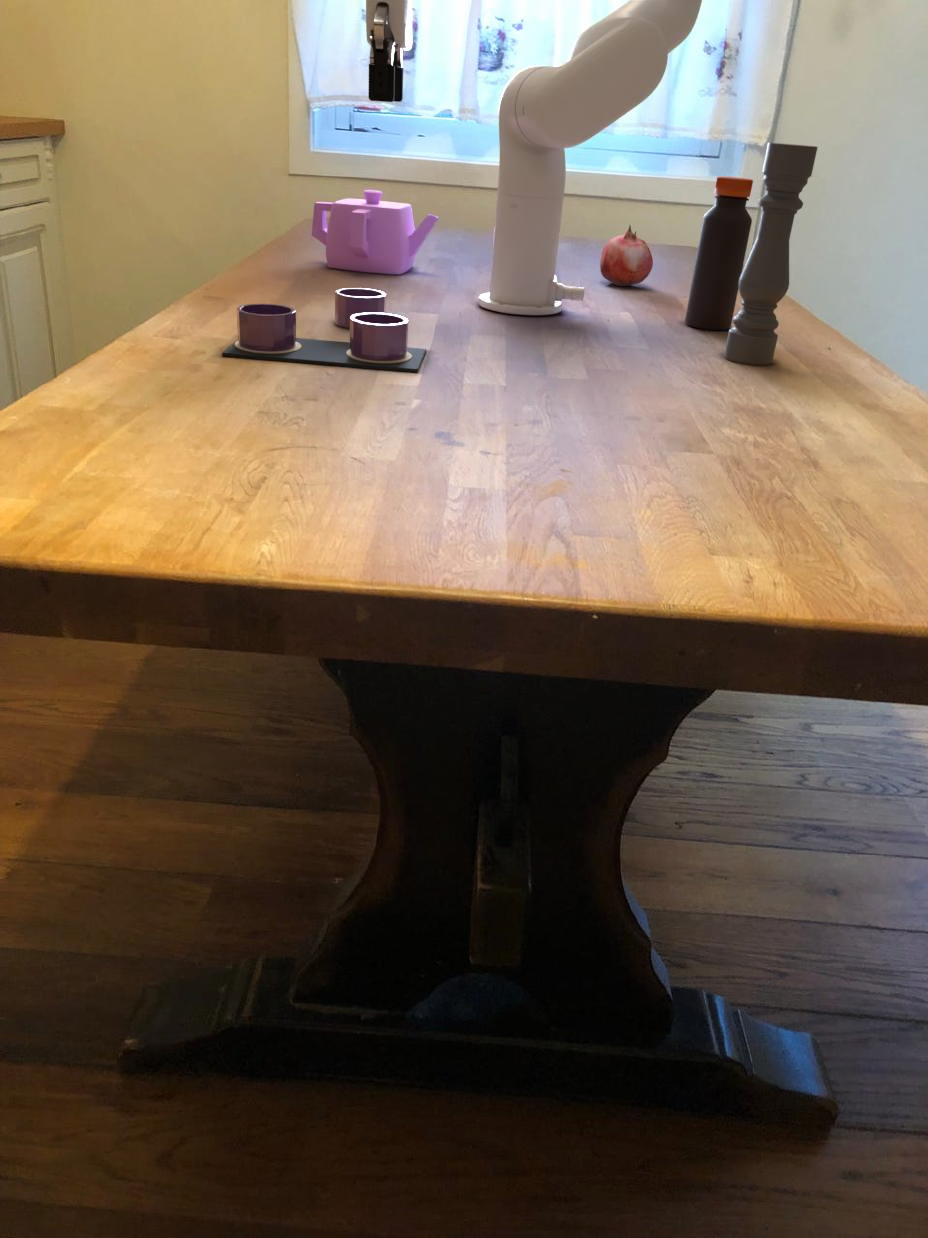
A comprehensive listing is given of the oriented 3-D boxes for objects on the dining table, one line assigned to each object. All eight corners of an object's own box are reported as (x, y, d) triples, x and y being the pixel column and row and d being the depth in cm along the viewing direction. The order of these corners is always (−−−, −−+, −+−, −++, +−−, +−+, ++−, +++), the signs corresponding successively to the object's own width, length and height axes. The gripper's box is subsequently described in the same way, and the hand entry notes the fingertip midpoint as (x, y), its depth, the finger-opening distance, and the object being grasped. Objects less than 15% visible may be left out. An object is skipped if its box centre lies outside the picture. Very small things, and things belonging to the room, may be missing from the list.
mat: (426, 352, 115) (426, 347, 114) (417, 372, 106) (417, 368, 106) (245, 336, 115) (245, 332, 115) (222, 356, 106) (221, 351, 106)
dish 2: (387, 320, 129) (388, 290, 127) (381, 331, 123) (381, 299, 121) (340, 317, 129) (340, 286, 127) (331, 327, 123) (331, 295, 121)
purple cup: (301, 340, 113) (300, 306, 111) (288, 353, 107) (288, 317, 105) (247, 336, 113) (245, 301, 111) (231, 348, 108) (230, 312, 106)
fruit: (610, 277, 175) (618, 219, 170) (657, 286, 170) (666, 226, 165) (586, 282, 168) (593, 221, 163) (634, 291, 164) (643, 229, 159)
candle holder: (774, 367, 120) (823, 147, 108) (724, 361, 121) (767, 143, 109) (770, 356, 126) (816, 145, 114) (722, 351, 127) (763, 141, 115)
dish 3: (409, 349, 113) (410, 315, 111) (402, 363, 107) (404, 327, 105) (355, 345, 113) (355, 310, 111) (345, 358, 107) (346, 322, 105)
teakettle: (305, 260, 168) (304, 183, 162) (386, 257, 178) (388, 185, 172) (354, 277, 157) (356, 195, 151) (438, 273, 166) (443, 196, 160)
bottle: (675, 323, 141) (701, 175, 131) (699, 319, 145) (725, 175, 136) (716, 333, 137) (745, 180, 127) (739, 327, 141) (769, 180, 132)
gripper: (412, -68, 108) (407, 103, 116) (425, -48, 123) (420, 102, 131) (346, -72, 108) (347, 99, 116) (368, -51, 123) (366, 99, 132)
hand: (386, 100), depth 124 cm, fingers open, 9 cm apart
